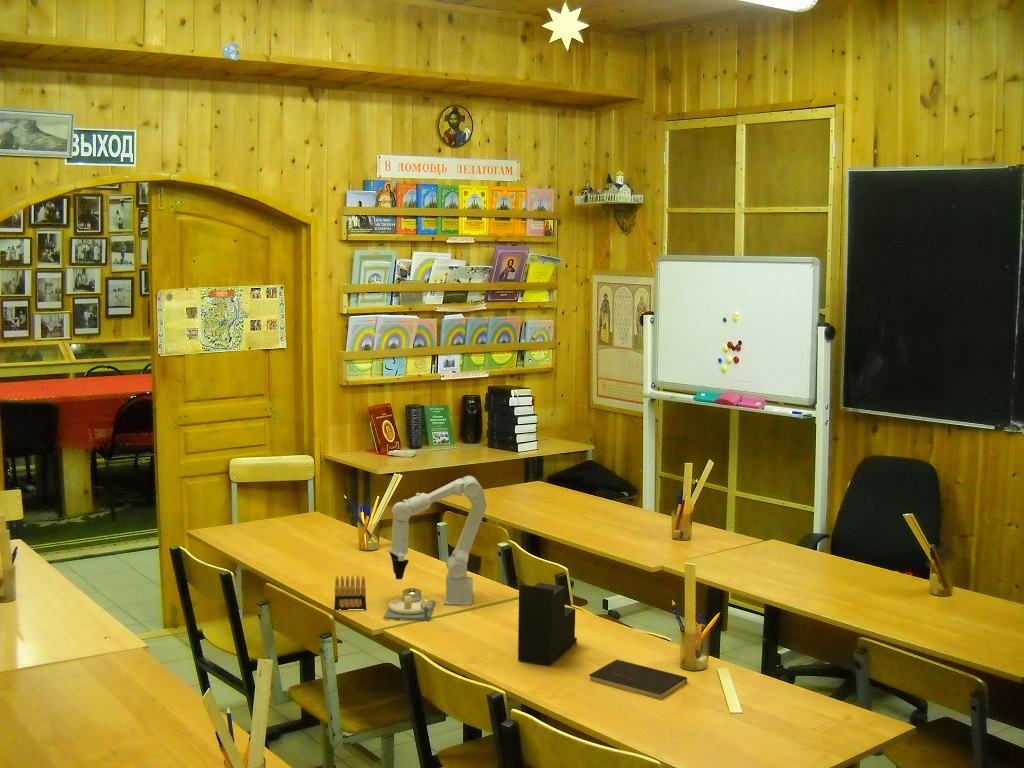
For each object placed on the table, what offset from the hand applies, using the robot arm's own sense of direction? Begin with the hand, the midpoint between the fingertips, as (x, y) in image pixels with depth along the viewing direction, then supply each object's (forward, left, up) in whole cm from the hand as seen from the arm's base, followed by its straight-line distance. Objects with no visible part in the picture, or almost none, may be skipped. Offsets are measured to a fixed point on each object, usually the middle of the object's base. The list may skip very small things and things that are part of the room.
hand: (397, 575), depth 385 cm
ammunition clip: (+15, +7, -10) cm, 20 cm away
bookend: (-53, +42, -10) cm, 69 cm away
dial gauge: (-12, +16, -10) cm, 22 cm away
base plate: (-5, +7, -10) cm, 14 cm away
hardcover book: (-79, +64, -11) cm, 102 cm away
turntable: (-5, +7, -9) cm, 13 cm away
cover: (-5, +3, -7) cm, 10 cm away
